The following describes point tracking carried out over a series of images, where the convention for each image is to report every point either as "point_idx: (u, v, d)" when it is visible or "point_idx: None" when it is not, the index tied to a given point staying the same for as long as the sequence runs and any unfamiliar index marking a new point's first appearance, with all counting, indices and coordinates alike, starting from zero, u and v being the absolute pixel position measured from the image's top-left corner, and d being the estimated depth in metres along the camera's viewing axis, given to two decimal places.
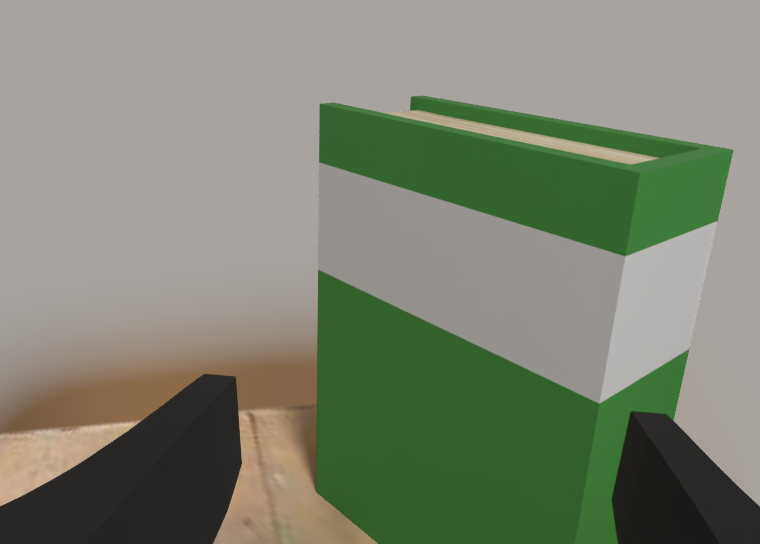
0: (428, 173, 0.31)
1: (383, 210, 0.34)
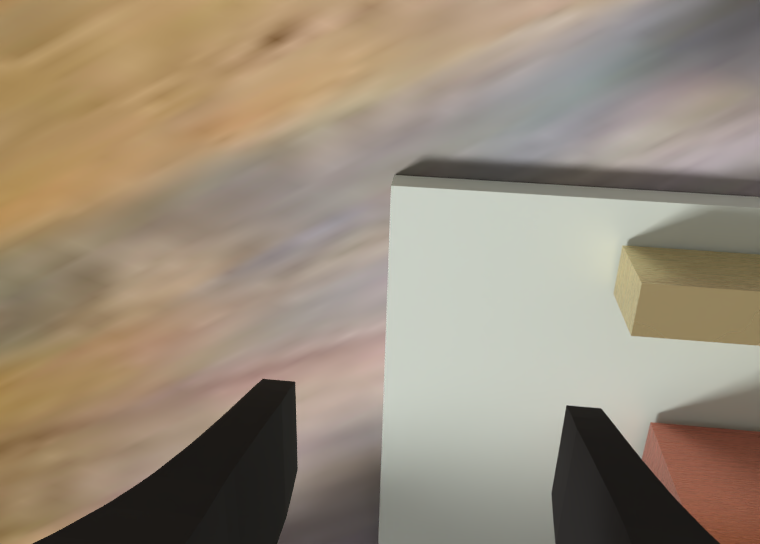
0: None
1: None
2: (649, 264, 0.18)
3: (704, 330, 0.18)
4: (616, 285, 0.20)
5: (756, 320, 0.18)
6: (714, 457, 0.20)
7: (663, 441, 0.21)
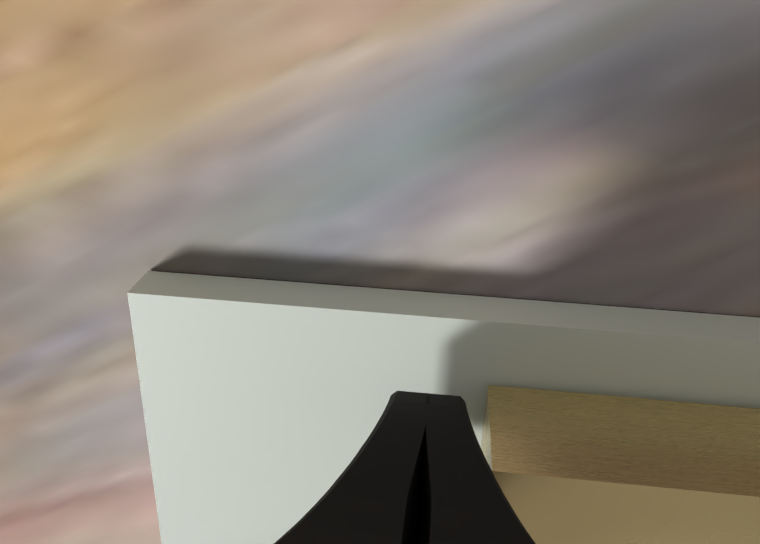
0: None
1: None
2: (516, 427, 0.12)
3: (593, 538, 0.12)
4: (482, 439, 0.14)
5: (671, 527, 0.11)
6: None
7: None
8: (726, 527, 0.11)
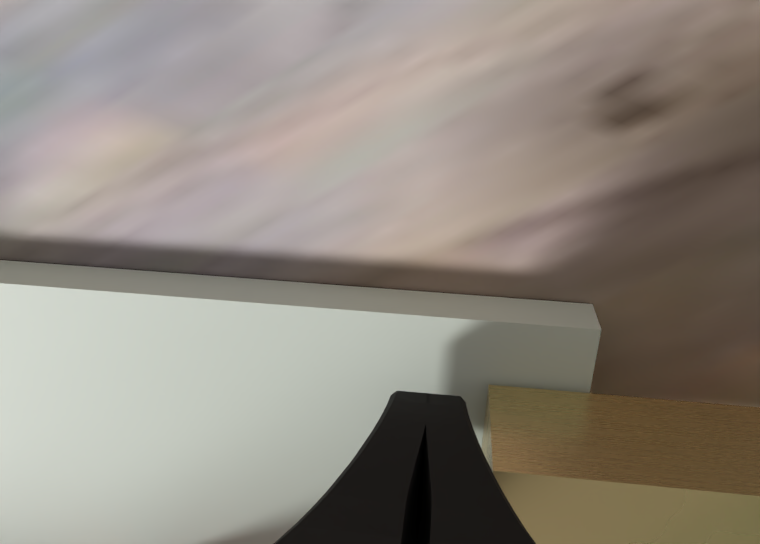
0: None
1: None
2: (517, 427, 0.12)
3: (594, 538, 0.12)
4: (483, 439, 0.14)
5: (673, 527, 0.11)
6: None
7: None
8: (728, 526, 0.11)
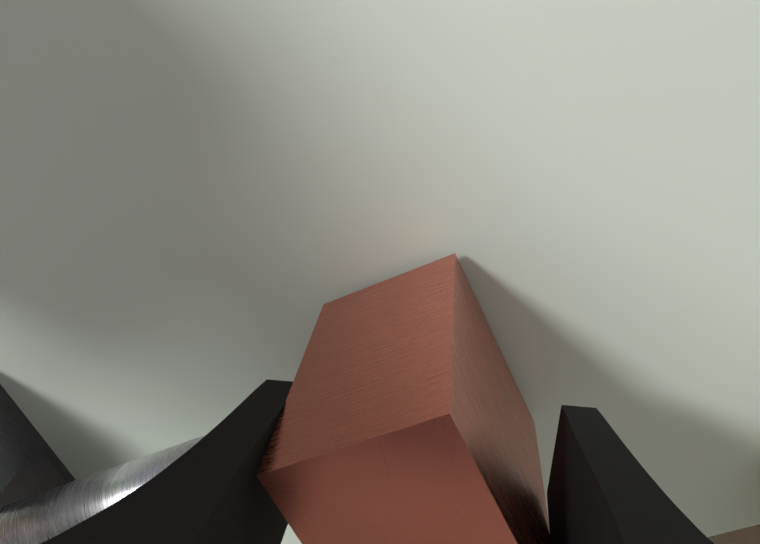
0: None
1: None
2: None
3: None
4: None
5: None
6: (484, 349, 0.13)
7: (457, 279, 0.13)
8: None
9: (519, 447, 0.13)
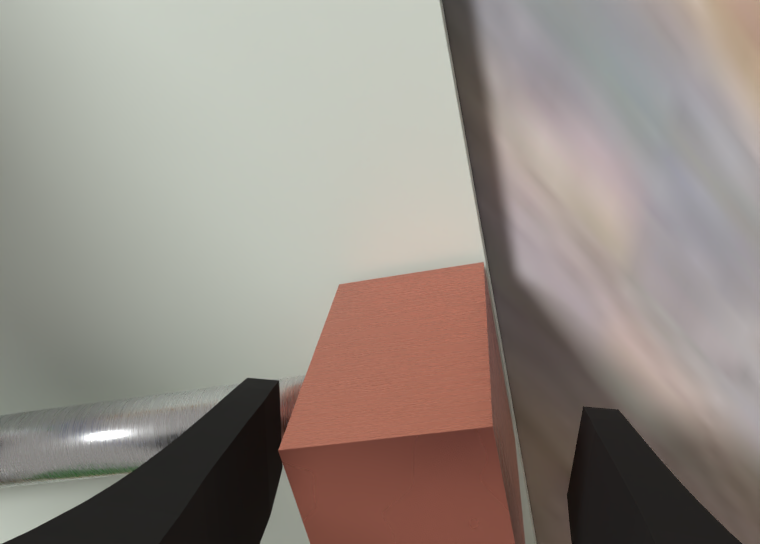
0: None
1: None
2: None
3: None
4: None
5: None
6: (498, 363, 0.13)
7: (486, 289, 0.13)
8: None
9: (513, 464, 0.13)
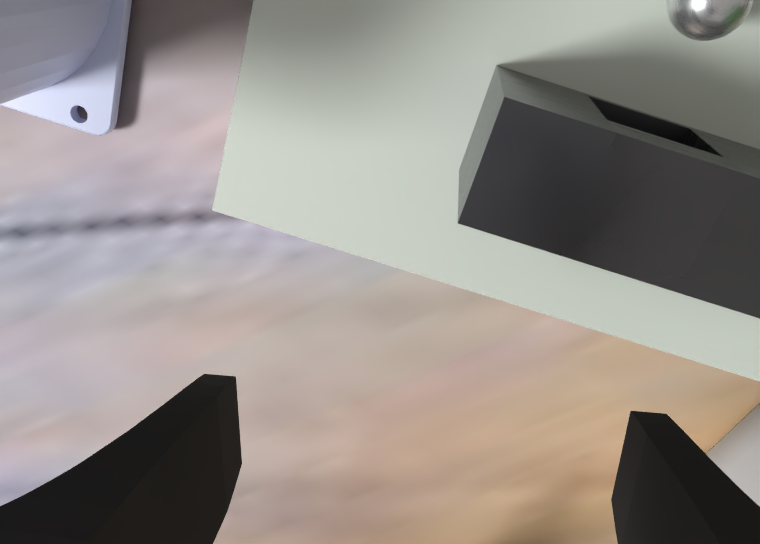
0: None
1: None
2: None
3: None
4: None
5: None
6: None
7: None
8: None
9: None
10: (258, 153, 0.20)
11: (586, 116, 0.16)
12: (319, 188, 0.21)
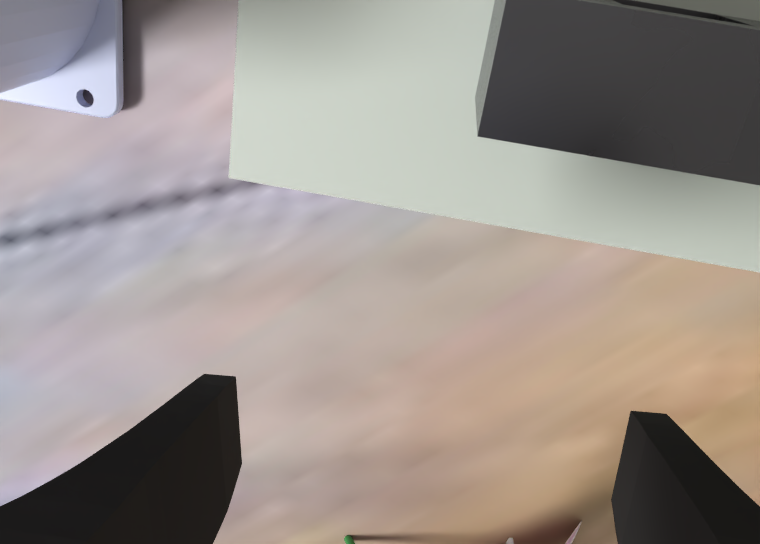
0: None
1: None
2: None
3: None
4: None
5: None
6: None
7: None
8: None
9: None
10: (267, 110, 0.20)
11: (600, 1, 0.15)
12: (333, 139, 0.20)
